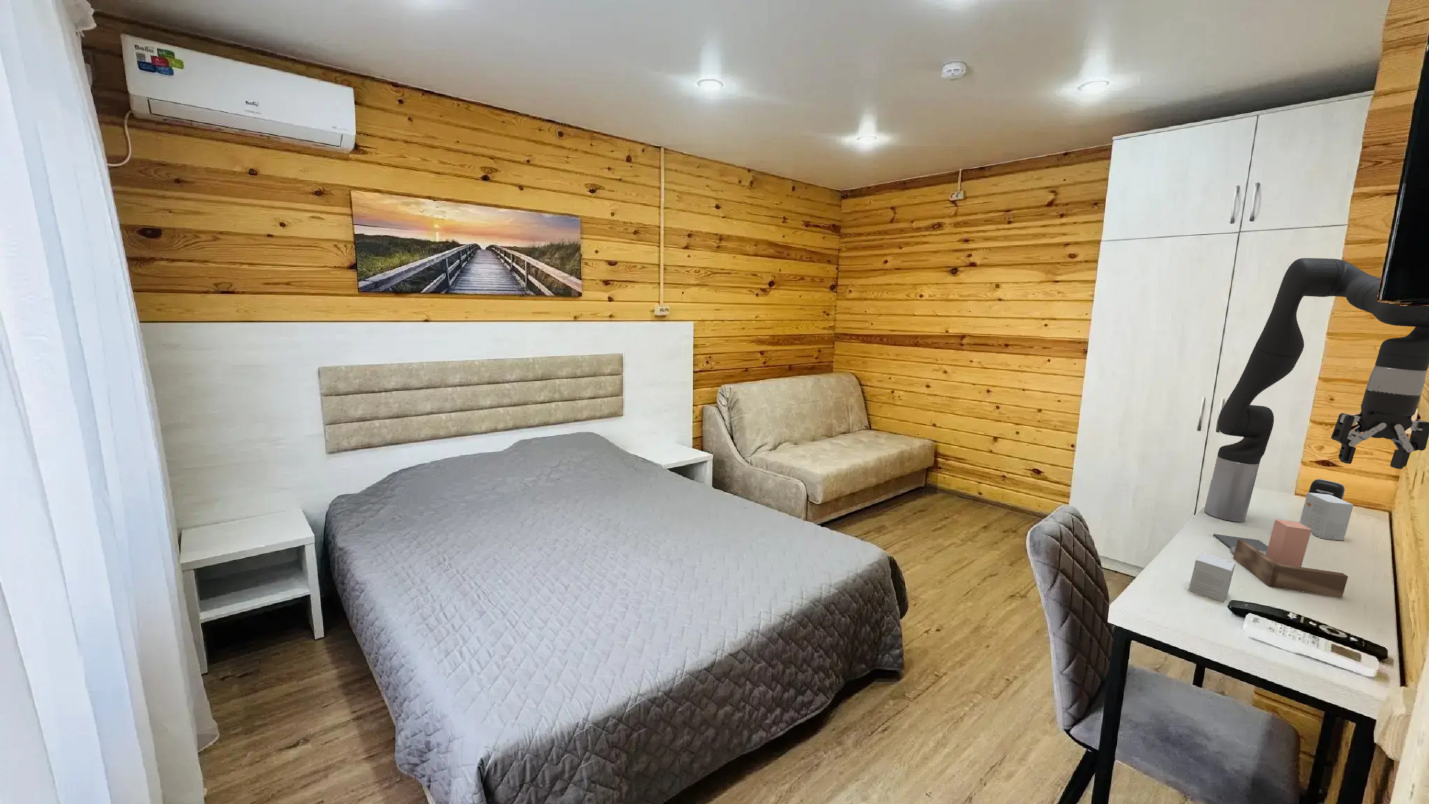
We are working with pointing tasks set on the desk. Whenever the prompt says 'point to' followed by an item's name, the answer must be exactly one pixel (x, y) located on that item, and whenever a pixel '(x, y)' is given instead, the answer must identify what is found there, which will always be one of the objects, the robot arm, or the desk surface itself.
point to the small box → (1326, 516)
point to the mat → (1232, 541)
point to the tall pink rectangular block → (1288, 542)
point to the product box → (1212, 576)
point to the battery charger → (1327, 488)
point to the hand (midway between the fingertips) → (1370, 465)
